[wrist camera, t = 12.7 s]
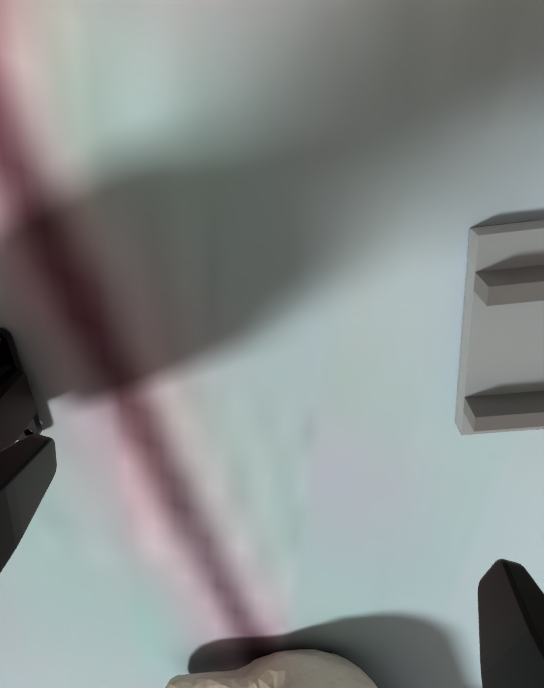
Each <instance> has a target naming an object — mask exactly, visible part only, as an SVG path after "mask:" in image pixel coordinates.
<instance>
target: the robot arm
mask: <svg viewBox="0 0 544 688" xmlns="http://www.w3.org/2000/svg"><path fill="white" fill-rule="evenodd" d="M0 338H1V340H2V341H0V573H1V571H2V569H3V568H4V566H5V565H6V563H7V562H8V560H9V559H10V557H11V556H12V554H13V552H14V551H15V549H16V548H17V546H18V544H19V542H20V540H21V539H22V537H23V535H24V533H25V531H26V529H27V527H28V525H29V523H30V521H31V519H32V518H33V516H34V514H35V512H36V510H37V508H38V506H39V504H40V502H41V500H42V498H43V496H44V494H45V493H46V491H47V489H48V487H49V485H50V483H51V481H52V479H53V477H54V475H55V472H56V467H57V463H56V451H55V442H54V440H53V439H52V438H50V437H46V436H42V435H40V433H41V432H42V428H41V425H40V422H39V419H38V416H37V409H36V406H35V403H34V400H33V397H32V393H31V390H30V387H29V384H28V381H27V378H26V375H25V373H24V371H23V369H22V366H21V363H20V360H19V357H18V354H17V351H16V348H15V345H14V342H13V339H12V336H11V334H10V333H9V332H8V331H7V330H5V329H3V328H0ZM28 429H29V430H28ZM30 430H31V431H30ZM16 440H19V441H18V442H16ZM15 442H16V443H15ZM478 613H479V640H480V664H481V677H482V686H483V688H544V593H543V592H542V591H541V589H540V588H539V587H538V585H537V584H536V582H535V581H534V580H533V578H532V577H531V576H530V574H529V573H528V572H527V570H526V569H525V568H524V567H523V566H522V565H521V564H519V563H516V562H512V561H509V560H505V559H499V560H497V561H496V562H495V563H494V564H493V565H492V566H491V568H490V569H489V570H488V571H487V572H486V574H485V575H484V576H483V577H482V579H481V580H480V582H479V586H478Z"/></svg>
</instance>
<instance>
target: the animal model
mask: <svg viewBox="0 0 544 688" xmlns="http://www.w3.org/2000/svg"><path fill="white" fill-rule="evenodd" d="M166 688H377V686H376V685H375V683H374V682H373V681H372V680H371V679H370V678H369V677H368V676H367V674H366V673H365V672H364V671H362V670H361V669H360V668H359V667H358V666H356V665H355V664H353V663H352V662H350V661H348V660H347V659H345V658H343V657H341V656H339V655H336V654H333V653H327V652H323V651H319V650H315V649H298V650H287V651H280V652H275V653H272V654H270V655H268V656H264V657H261V658H257V659H255V660H253V661H252V662H251V663H250V664H248V665H246V666H244V667H241V668H239V669H234V670H228V671H214V672H203V673H193V674H186V675H178V676H175V677H174V678H172V679H171V680H170V681H169V683H168V684H167V686H166Z"/></svg>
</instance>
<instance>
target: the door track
mask: <svg viewBox="0 0 544 688" xmlns="http://www.w3.org/2000/svg"><path fill="white" fill-rule="evenodd" d="M455 423H456V425H457V427H458V429H459V431H460V434H461V435H468V434H481V433H494V432H508V431H521V430H534V429H544V220H536V221H527V222H519V223H510V224H501V225H493V226H484V227H475V228H470V231H469V244H468V258H467V271H466V284H465V297H464V310H463V323H462V337H461V350H460V363H459V376H458V389H457V402H456V416H455Z"/></svg>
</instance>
